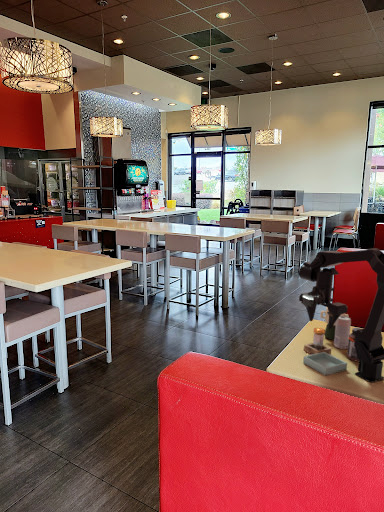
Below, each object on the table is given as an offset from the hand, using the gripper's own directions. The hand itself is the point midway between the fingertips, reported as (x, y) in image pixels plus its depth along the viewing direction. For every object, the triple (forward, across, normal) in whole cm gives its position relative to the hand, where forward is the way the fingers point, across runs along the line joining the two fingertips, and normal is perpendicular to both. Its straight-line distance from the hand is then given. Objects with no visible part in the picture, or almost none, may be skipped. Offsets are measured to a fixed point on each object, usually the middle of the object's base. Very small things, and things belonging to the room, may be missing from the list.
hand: (320, 324), depth 143 cm
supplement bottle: (+11, +10, +9) cm, 17 cm away
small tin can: (+11, 0, 0) cm, 11 cm away
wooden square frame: (+11, 0, 0) cm, 11 cm away
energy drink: (+11, 0, +13) cm, 17 cm away
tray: (+11, +10, -7) cm, 16 cm away
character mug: (+11, -8, +17) cm, 22 cm away
